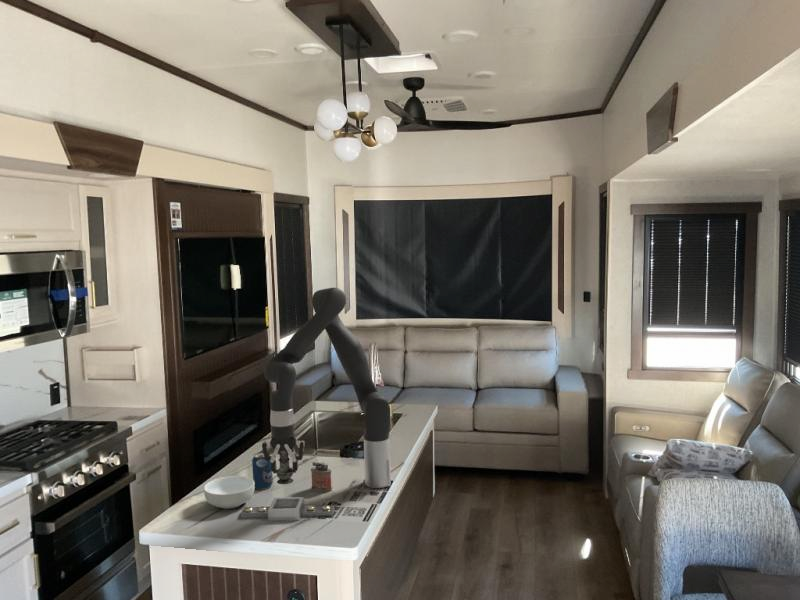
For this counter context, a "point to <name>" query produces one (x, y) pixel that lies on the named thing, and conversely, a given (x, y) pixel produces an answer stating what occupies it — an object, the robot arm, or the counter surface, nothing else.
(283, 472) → the grey tall turned piece
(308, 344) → the robot arm
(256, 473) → the soda can
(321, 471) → the lighter
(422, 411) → the counter surface
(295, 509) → the studded gray strap
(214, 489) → the cereal bowl
